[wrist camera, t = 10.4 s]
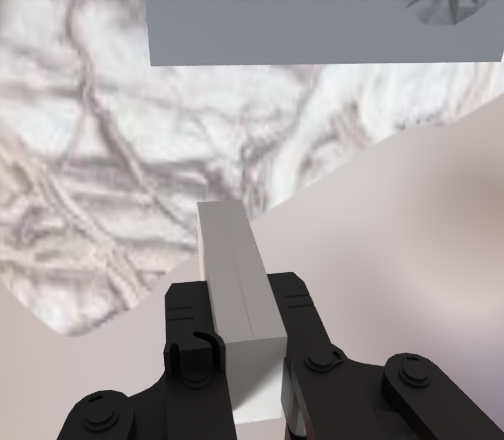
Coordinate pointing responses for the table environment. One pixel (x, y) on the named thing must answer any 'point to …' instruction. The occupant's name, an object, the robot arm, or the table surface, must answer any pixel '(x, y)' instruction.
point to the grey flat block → (323, 31)
